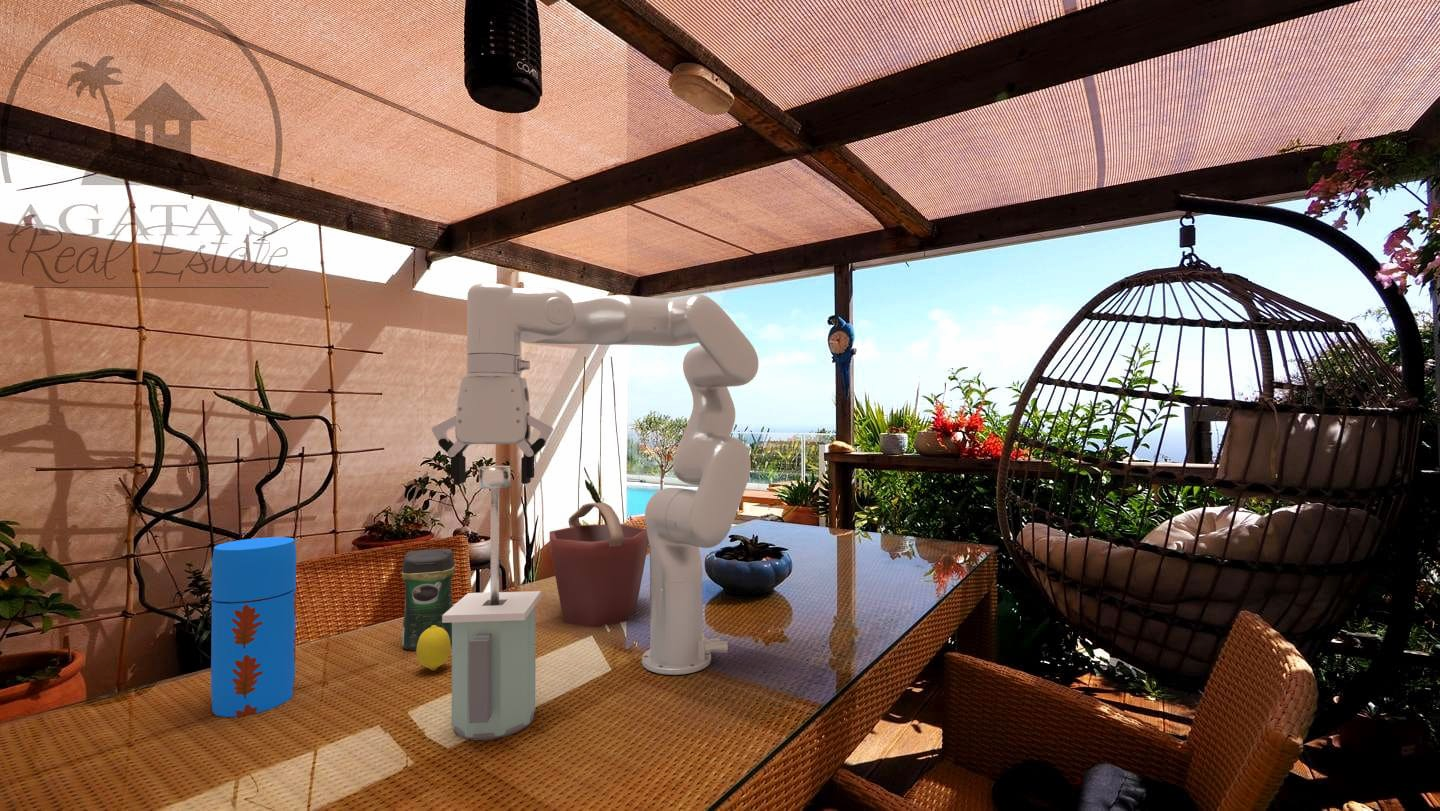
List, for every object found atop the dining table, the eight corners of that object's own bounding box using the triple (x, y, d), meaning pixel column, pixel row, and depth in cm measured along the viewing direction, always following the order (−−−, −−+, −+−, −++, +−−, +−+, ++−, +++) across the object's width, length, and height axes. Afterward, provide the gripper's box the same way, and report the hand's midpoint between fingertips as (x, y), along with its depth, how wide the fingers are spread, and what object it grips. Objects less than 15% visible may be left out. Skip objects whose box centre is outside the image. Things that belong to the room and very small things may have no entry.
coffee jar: (457, 634, 131) (457, 544, 131) (452, 647, 123) (452, 552, 124) (405, 639, 128) (406, 547, 129) (397, 653, 121) (398, 555, 121)
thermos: (202, 723, 93) (203, 553, 94) (219, 695, 103) (220, 540, 103) (290, 707, 98) (291, 545, 99) (299, 682, 108) (300, 534, 108)
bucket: (548, 603, 153) (548, 499, 153) (639, 595, 159) (638, 495, 160) (553, 637, 129) (553, 514, 130) (659, 625, 136) (659, 508, 136)
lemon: (437, 678, 109) (437, 631, 109) (409, 675, 110) (409, 629, 110) (457, 665, 115) (457, 621, 115) (429, 663, 116) (430, 619, 116)
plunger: (528, 621, 98) (528, 464, 99) (515, 639, 90) (515, 468, 91) (475, 623, 98) (475, 465, 98) (457, 641, 90) (458, 469, 90)
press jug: (520, 747, 86) (520, 618, 86) (435, 750, 85) (435, 621, 86) (541, 702, 100) (541, 591, 100) (467, 705, 99) (468, 593, 99)
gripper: (557, 370, 99) (556, 480, 98) (443, 369, 98) (442, 481, 97) (547, 366, 91) (547, 485, 91) (424, 365, 90) (423, 486, 90)
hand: (493, 483), depth 94 cm, fingers open, 9 cm apart
